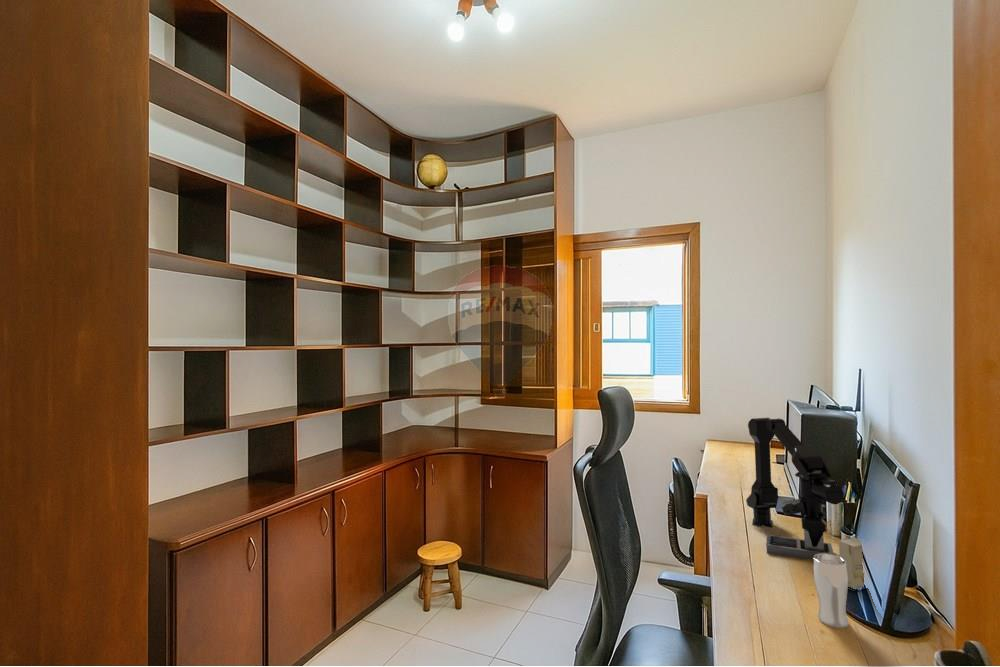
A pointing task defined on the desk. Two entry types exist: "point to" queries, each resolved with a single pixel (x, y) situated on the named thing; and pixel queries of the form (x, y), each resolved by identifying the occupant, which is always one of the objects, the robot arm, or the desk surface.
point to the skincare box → (853, 561)
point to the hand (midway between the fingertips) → (814, 543)
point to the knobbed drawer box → (809, 545)
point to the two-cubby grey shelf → (793, 551)
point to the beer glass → (831, 589)
